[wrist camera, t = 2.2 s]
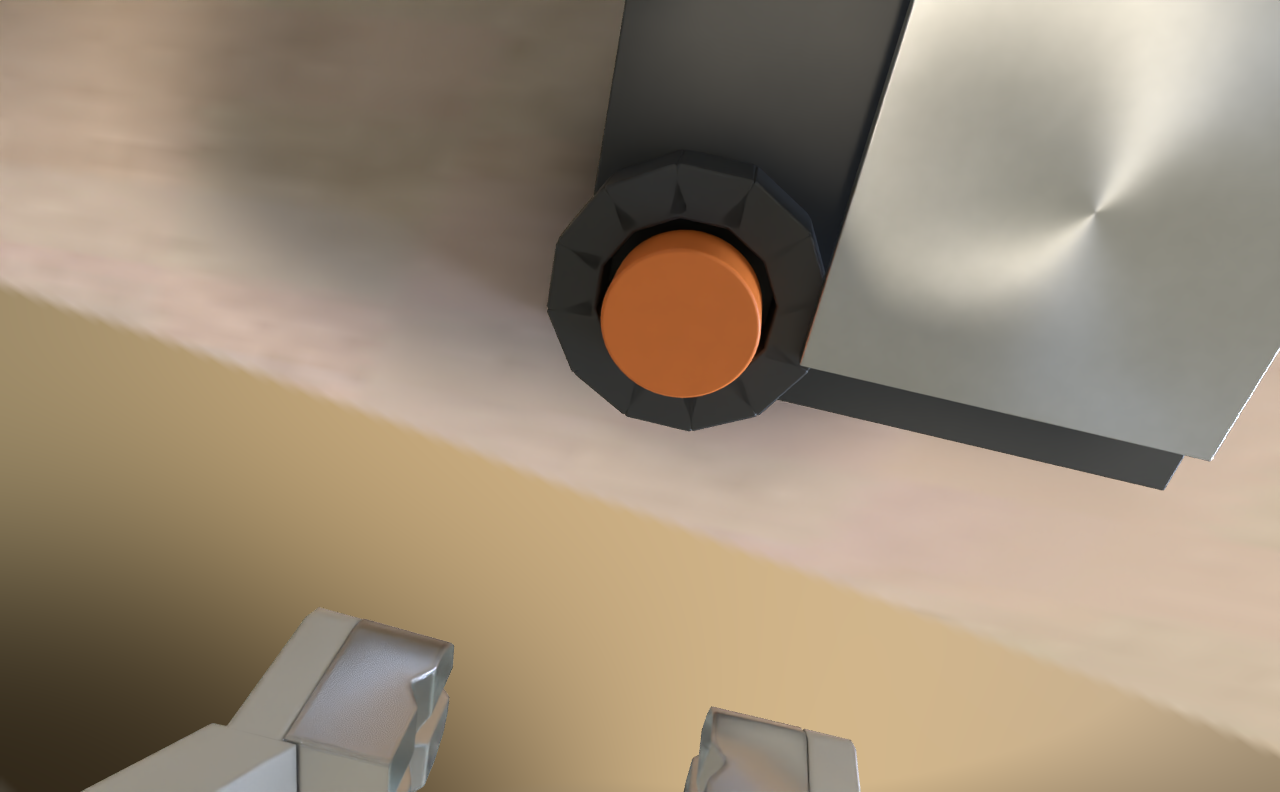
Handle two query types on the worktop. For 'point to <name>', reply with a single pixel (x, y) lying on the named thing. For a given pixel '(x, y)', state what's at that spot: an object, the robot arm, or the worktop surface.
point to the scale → (764, 210)
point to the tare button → (683, 314)
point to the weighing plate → (1069, 216)
